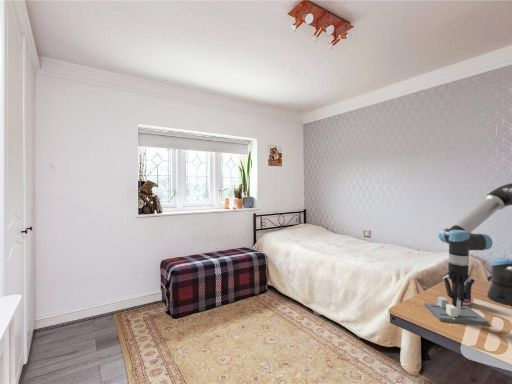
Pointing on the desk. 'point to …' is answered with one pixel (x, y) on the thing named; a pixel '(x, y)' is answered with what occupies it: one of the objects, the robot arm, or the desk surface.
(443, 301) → the fader grey
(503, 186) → the robot arm
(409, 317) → the desk surface
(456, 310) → the fader ivory
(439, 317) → the panel
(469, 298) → the pill bottle
